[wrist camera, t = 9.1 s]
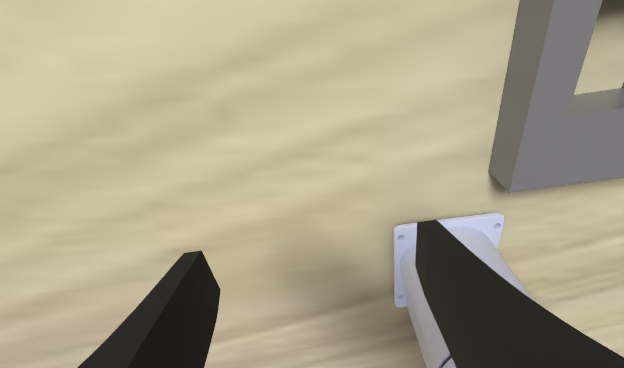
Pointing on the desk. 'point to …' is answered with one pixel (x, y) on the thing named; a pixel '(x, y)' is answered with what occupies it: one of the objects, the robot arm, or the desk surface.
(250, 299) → the desk surface
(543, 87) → the grey board with hole
